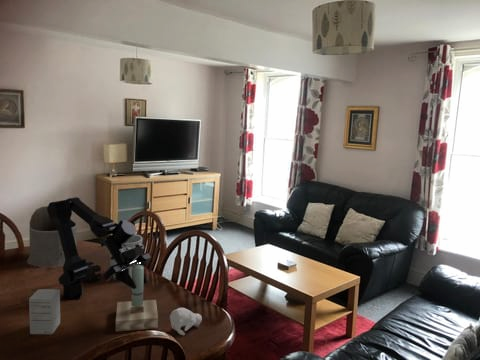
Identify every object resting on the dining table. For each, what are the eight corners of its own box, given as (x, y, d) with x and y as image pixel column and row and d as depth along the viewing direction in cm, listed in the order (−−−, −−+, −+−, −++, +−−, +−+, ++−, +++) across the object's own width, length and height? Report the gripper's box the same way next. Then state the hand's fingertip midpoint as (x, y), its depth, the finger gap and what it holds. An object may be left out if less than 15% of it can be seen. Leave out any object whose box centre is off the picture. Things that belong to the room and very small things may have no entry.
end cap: (74, 277, 172) (74, 263, 171) (89, 273, 177) (89, 259, 176) (86, 284, 165) (86, 269, 164) (101, 280, 171) (101, 265, 170)
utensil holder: (110, 282, 168) (110, 244, 166) (107, 270, 182) (107, 234, 179) (144, 278, 174) (145, 242, 172) (139, 267, 188) (139, 232, 185)
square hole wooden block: (115, 332, 130) (115, 321, 129) (117, 312, 143) (117, 302, 143) (157, 328, 134) (157, 317, 133) (155, 309, 147) (155, 299, 146)
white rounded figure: (169, 306, 132) (197, 300, 140) (166, 330, 133) (194, 323, 141) (178, 314, 127) (207, 307, 135) (175, 338, 128) (204, 330, 136)
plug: (131, 307, 135) (131, 269, 133) (131, 301, 139) (131, 265, 137) (143, 306, 136) (144, 269, 134) (143, 301, 140) (144, 264, 138)
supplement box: (38, 322, 133) (38, 288, 131) (60, 323, 134) (60, 289, 132) (29, 334, 126) (28, 298, 124) (52, 334, 126) (51, 298, 124)
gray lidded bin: (67, 248, 208) (67, 203, 205) (94, 265, 187) (94, 215, 183) (20, 257, 192) (19, 208, 188) (44, 276, 170) (43, 222, 167)
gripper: (110, 244, 128) (134, 283, 124) (147, 231, 144) (170, 266, 141) (93, 261, 132) (116, 299, 129) (131, 247, 149) (153, 281, 145)
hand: (140, 285), depth 136 cm, fingers open, 5 cm apart
